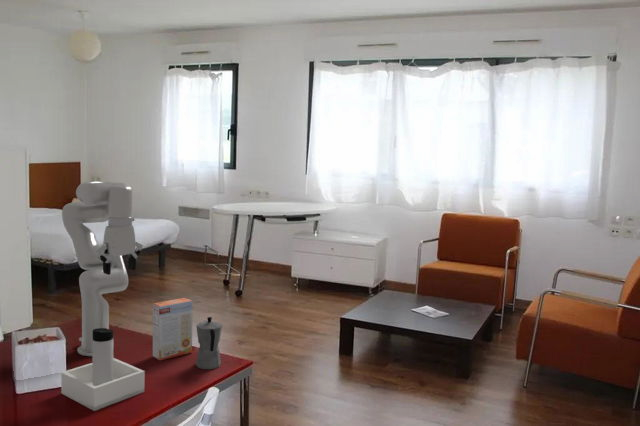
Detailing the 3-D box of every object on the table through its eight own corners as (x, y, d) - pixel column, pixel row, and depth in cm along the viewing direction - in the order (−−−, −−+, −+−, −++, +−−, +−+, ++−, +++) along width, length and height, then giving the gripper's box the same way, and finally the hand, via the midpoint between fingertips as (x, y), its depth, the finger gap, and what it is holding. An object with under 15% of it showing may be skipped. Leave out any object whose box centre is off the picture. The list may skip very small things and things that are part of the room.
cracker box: (184, 348, 227) (185, 296, 225) (192, 353, 223) (193, 300, 220) (151, 356, 218) (152, 302, 215) (159, 361, 213) (159, 306, 211)
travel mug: (87, 390, 184) (87, 329, 181) (102, 383, 190) (102, 324, 187) (102, 394, 181) (102, 333, 179) (117, 387, 187) (117, 327, 185)
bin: (61, 393, 184) (61, 372, 183) (111, 376, 198) (111, 356, 197) (94, 411, 173) (94, 388, 172) (144, 391, 188) (144, 371, 187)
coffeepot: (193, 359, 217) (194, 312, 215) (218, 357, 220) (219, 311, 218) (198, 375, 203) (199, 325, 201) (225, 372, 206) (226, 323, 204)
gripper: (135, 218, 204) (134, 265, 206) (90, 222, 190) (90, 273, 192) (148, 221, 200) (147, 269, 202) (103, 225, 186) (103, 277, 188)
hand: (119, 271), depth 197 cm, fingers open, 9 cm apart
